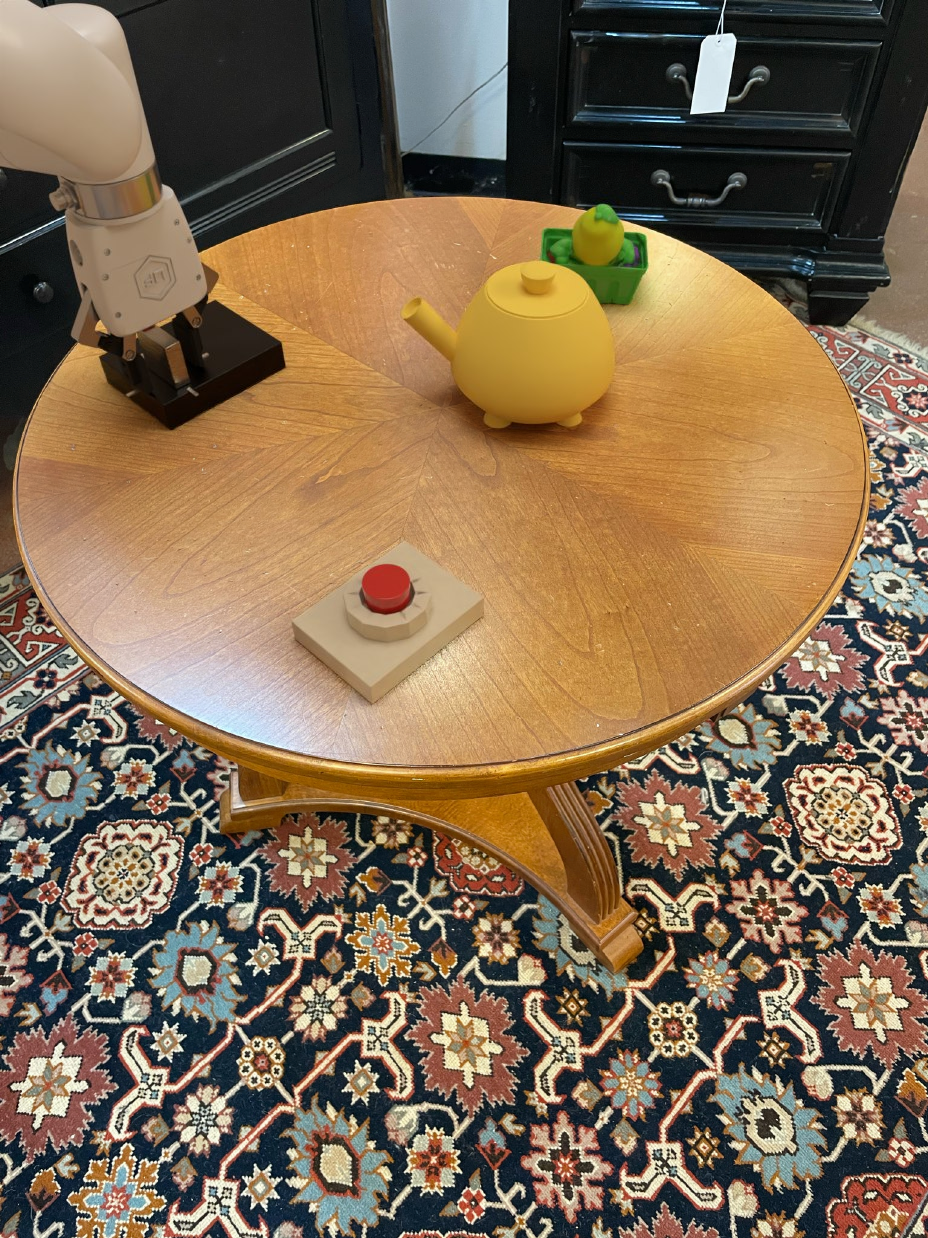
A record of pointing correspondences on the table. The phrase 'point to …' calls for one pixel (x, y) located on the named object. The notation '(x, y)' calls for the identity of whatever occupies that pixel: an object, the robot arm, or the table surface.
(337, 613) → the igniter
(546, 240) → the fruit basket
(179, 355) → the hob knob
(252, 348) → the panel
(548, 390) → the teapot
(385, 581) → the button
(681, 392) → the table surface
